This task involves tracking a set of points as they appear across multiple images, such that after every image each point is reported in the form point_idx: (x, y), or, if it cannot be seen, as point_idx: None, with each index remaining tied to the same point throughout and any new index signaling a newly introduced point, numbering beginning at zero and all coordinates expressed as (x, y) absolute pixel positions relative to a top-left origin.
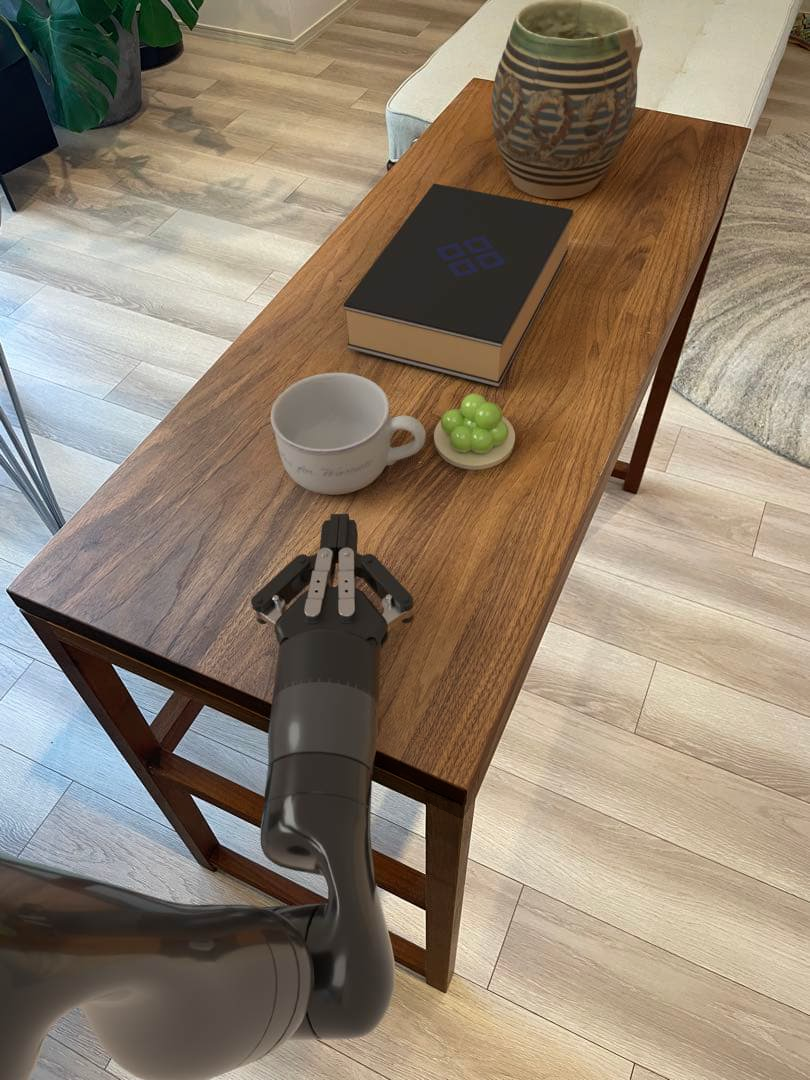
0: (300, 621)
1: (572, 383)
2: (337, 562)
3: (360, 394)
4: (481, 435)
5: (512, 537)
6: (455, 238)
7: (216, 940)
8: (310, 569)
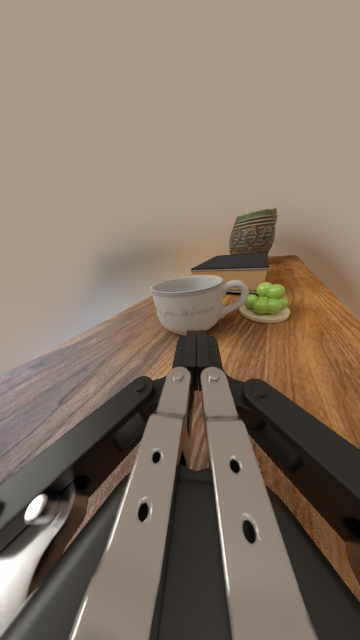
0: None
1: (297, 292)
2: (195, 389)
3: (201, 286)
4: (276, 301)
5: (342, 364)
6: (228, 258)
7: None
8: (153, 404)
